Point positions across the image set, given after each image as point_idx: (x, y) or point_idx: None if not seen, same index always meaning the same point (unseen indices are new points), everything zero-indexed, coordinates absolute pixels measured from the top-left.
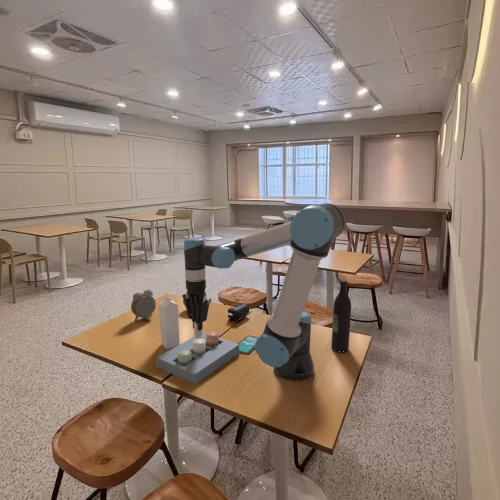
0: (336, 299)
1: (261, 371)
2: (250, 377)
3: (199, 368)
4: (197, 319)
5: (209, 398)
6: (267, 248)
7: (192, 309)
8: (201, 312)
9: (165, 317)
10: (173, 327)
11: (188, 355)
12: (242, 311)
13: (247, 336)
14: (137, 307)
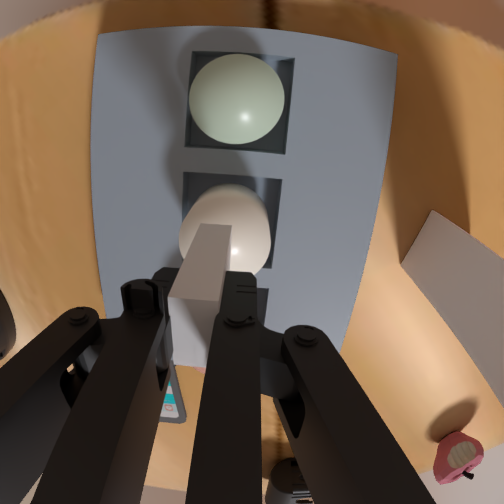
0: None
1: (6, 258)
2: (5, 210)
3: (107, 80)
4: (137, 330)
5: (37, 31)
6: None
7: (221, 465)
8: (10, 406)
9: None
10: (465, 294)
11: (195, 93)
12: (270, 494)
13: (183, 417)
14: None
